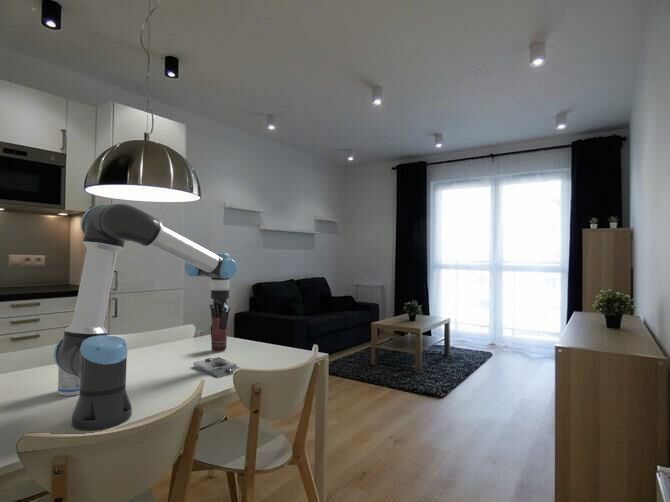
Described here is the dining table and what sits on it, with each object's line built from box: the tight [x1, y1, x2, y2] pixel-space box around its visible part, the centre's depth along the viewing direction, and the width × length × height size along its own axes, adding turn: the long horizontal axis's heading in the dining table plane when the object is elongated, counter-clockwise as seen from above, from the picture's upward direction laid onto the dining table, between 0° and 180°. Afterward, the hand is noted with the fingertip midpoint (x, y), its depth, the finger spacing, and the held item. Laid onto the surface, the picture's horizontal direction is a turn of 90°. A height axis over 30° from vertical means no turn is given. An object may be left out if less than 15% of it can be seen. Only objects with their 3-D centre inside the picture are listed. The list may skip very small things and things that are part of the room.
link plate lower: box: [199, 363, 241, 379], centre depth 164 cm, size 12×14×2 cm
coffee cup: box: [209, 324, 228, 353], centre depth 197 cm, size 9×8×13 cm
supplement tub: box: [57, 366, 80, 397], centre depth 136 cm, size 10×10×15 cm
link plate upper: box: [193, 356, 237, 372], centre depth 168 cm, size 12×14×3 cm
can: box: [211, 316, 228, 352], centre depth 166 cm, size 6×6×14 cm
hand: (218, 344), depth 166 cm, fingers closed
